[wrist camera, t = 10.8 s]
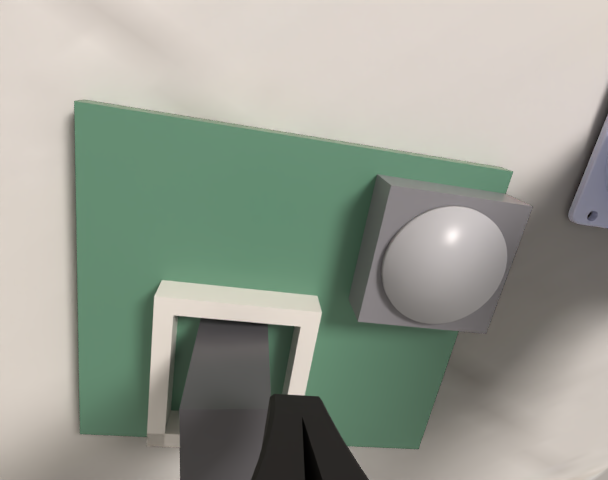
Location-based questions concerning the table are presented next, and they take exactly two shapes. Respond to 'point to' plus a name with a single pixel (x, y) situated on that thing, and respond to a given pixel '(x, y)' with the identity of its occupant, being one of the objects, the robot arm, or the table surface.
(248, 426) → the plug
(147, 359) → the board
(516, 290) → the table surface
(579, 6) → the table surface
